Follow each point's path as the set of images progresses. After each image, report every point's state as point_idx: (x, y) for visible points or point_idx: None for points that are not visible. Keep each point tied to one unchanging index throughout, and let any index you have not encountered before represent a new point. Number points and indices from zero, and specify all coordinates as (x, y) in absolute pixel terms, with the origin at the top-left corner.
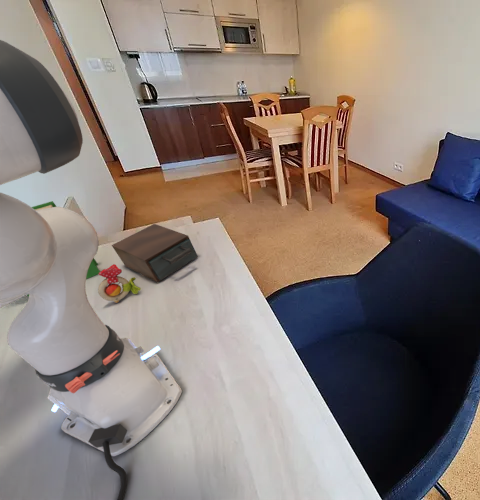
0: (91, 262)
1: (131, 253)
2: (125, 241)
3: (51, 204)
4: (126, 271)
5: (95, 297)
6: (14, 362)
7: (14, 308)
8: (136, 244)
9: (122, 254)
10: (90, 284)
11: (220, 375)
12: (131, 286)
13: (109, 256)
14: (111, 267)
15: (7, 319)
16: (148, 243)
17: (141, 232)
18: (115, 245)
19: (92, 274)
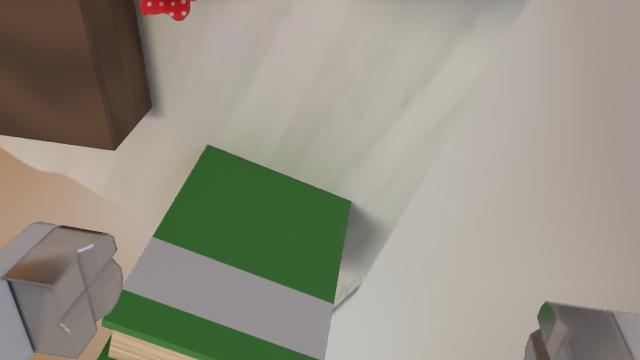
0: (196, 170)
1: (82, 31)
2: (76, 126)
3: (107, 356)
4: (160, 78)
5: (265, 52)
6: (505, 4)
7: (383, 214)
8: (53, 69)
9: (116, 96)
10: (245, 124)
11: None
12: None
13: (162, 191)
14: (155, 5)
15: (412, 191)
16: (19, 29)
17: (21, 124)
18: (106, 136)
19: (222, 154)
